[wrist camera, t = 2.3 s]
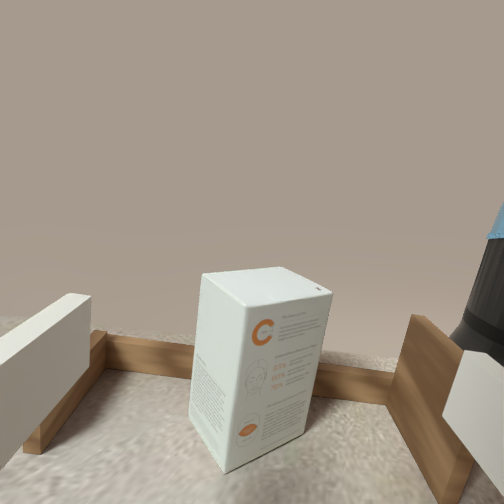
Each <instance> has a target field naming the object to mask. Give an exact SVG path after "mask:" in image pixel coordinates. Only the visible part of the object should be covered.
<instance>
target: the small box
mask: <svg viewBox="0 0 504 504" xmlns="http://www.w3.org/2000/svg"><path fill="white" fill-rule="evenodd" d="M332 297H333V292H331V291H329V290H328V289H326V288H324V287H322V286H320V285H318V284H316V283H314V282H312V281H310V280H308V279H306V278H304V277H302V276H300V275H298V274H296V273H294V272H291V271H289V270H287V269H285V268H283V267H272V268H261V269H250V270H240V271H227V272H216V273H203V274H202V278H201V288H200V299H199V308H198V319H197V328H196V339H195V349H194V359H193V368H192V379H191V390H190V400H189V410H188V417H189V419H190V421H191V422H192V424H193V425H194V427H195V429H196V430H197V432H198V433H199V435H200V437H201V438H202V440H203V441H204V443H205V445H206V446H207V448H208V449H209V451H210V453H211V454H212V456H213V458H214V459H215V461H216V462H217V464H218V465H219V467H220V468H221V470H222V472H223V473H224V474H226V473H228V472H230V471H231V470H233V469H235V468H237V467H239V466H241V465H243V464H245V463H247V462H249V461H251V460H253V459H255V458H257V457H259V456H261V455H263V454H265V453H267V452H269V451H271V450H273V449H275V448H276V447H278V446H280V445H282V444H284V443H286V442H288V441H290V440H292V439H294V438H296V437H298V436H300V435H302V434H303V433H304V429H305V424H306V419H307V415H308V410H309V405H310V400H311V396H312V391H313V386H314V381H315V377H316V372H317V367H318V363H319V358H320V353H321V349H322V344H323V339H324V335H325V329H326V325H327V320H328V316H329V311H330V306H331V301H332Z"/></svg>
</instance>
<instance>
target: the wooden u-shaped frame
mask: <svg viewBox="0 0 504 504" xmlns="http://www.w3.org/2000/svg"><path fill="white" fill-rule="evenodd" d="M194 349H195V346H192V345H185V344H178V343H170V342H163V341H155V340H148V339H141V338H133V337H126V336H118V335H111V334H107V331H99V330H94V331H93V332H92V333H91V334H90V358H89V367H88V369H87V370H86V371H85V372H84V373H83V374H82V376H81V377H80V378H79V379H78V380H77V381H76V383H75V384H74V385H73V386H72V387H71V388H70V390H69V391H68V392H67V393H66V394H65V395H64V397H63V398H62V399H61V400H60V401H59V402H58V404H57V405H56V406H55V407H54V408H53V409H52V411H51V412H50V413H49V414H48V415H47V417H46V418H45V419H44V420H43V421H42V422H41V424H40V425H39V426H38V427H37V428H36V429H35V431H34V432H33V433H32V434H31V435H30V436H29V438H28V439H27V440H26V441H25V442H24V443H23V452H24V453H32V454H40V455H41V454H42V452H43V451H44V450H45V448H46V447H47V446H48V444H49V443H50V442H51V440H52V439H53V438H54V436H55V435H56V434H57V432H58V431H59V430H60V428H61V427H62V426H63V424H64V423H65V422H66V420H67V419H68V418H69V417H70V415H71V414H72V413H73V411H74V410H75V409H76V407H77V406H78V405H79V403H80V402H81V401H82V399H83V398H84V397H85V395H86V394H87V393H88V391H89V390H90V389H91V387H92V386H93V385H94V383H95V382H96V381H97V380H98V378H99V377H100V376H101V374H102V373H103V372H104V370H105V369H106V368H110V369H118V370H125V371H133V372H140V373H148V374H155V375H163V376H170V377H178V378H185V379H192V368H193V359H194ZM463 353H464V351H463V350H462V349H461V348H460V347H459V346H458V345H456V344H455V343H454V342H453V341H452V340H451V339H450V338H449V337H447V336H446V335H445V334H444V333H443V332H442V331H441V330H439V329H438V328H437V327H436V326H435V325H434V324H433V323H432V322H431V321H429V320H428V319H427V318H426V317H425V316H420V315H413V314H412V315H411V318H410V322H409V325H408V329H407V332H406V336H405V339H404V343H403V346H402V349H401V353H400V356H399V360H398V363H397V367H396V370H395V373H392V372H385V371H378V370H370V369H363V368H355V367H348V366H341V365H333V364H326V363H318V367H317V372H316V377H315V381H314V386H313V391H312V395H313V396H321V397H328V398H336V399H343V400H351V401H358V402H366V403H373V404H381V405H386V407H387V409H388V411H389V413H390V415H391V416H392V418H393V420H394V422H395V424H396V426H397V428H398V429H399V431H400V433H401V435H402V437H403V439H404V441H405V442H406V444H407V446H408V448H409V450H410V452H411V454H412V455H413V457H414V459H415V461H416V463H417V465H418V467H419V468H420V470H421V472H422V474H423V476H424V478H425V480H426V481H427V483H428V485H429V487H430V489H431V491H432V493H433V494H434V496H435V498H436V500H437V502H438V504H458V501H459V499H460V496H461V494H462V491H463V489H464V486H465V483H466V481H467V478H468V476H469V473H470V471H471V468H472V466H473V463H474V460H475V459H474V457H473V456H472V455H471V453H470V452H469V451H468V449H467V448H466V447H465V445H464V444H463V443H462V441H461V440H460V439H459V437H458V436H457V435H456V434H455V432H454V431H453V430H452V428H451V427H450V426H449V424H448V423H447V422H446V420H445V419H444V418H443V416H442V414H443V411H444V408H445V405H446V402H447V400H448V397H449V394H450V391H451V388H452V385H453V382H454V379H455V376H456V374H457V371H458V368H459V365H460V362H461V359H462V356H463Z"/></svg>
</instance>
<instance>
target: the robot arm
mask: <svg viewBox="0 0 504 504" xmlns="http://www.w3.org/2000/svg"><path fill="white" fill-rule="evenodd" d="M487 239H489V240H488V243H487V246H486V249H485V253H484V255H483V259H482V262H481V265H480V268H479V271H478V273H477V277H476V279H475V282H474V285H473V288H472V291H471V294H470V297H469V299H468V303H467V305H466V309H465V311H464V314H463V317H462V320H461V322H460V324H459V326H458V327H457V328H456V329H455V331H454V332H453V333H452V334H451V335H450V337H449V338H450V339H451V340H452V341H453V342H454V343H455V344H456V345H458V346H459V347H460V348H461V349H462V350H463V351H464V353H463V356H462V359H461V362H460V365H459V368H458V371H457V374H456V376H455V379H454V382H453V385H452V388H451V391H450V394H449V397H448V400H447V402H446V405H445V408H444V411H443V414H442V416H443V418H444V419H445V420H446V422H447V423H448V424H449V426H450V427H451V428H452V430H453V431H454V432H455V434H456V435H457V436H458V437H459V439H460V440H461V441H462V443H463V444H464V445H465V447H466V448H467V449H468V451H469V452H470V453H471V455H472V456H473V457H474V459H475V460H476V461H477V462H478V464H479V465H480V466H481V468H482V469H483V470H484V472H485V473H486V474H487V476H488V477H489V478H490V480H491V481H492V482H493V484H494V485H495V486H496V487H497V489H498V490H499V491H500V493H501V494H502V495H503V497H504V203H503V204H502V206H501V208H500V210H499V213H498V215H497V218H496V220H495V223H494V225H493V227H492V230H491V232H490V233H488V235H487ZM90 328H91V296H87V295H81V294H73V293H68V294H67V295H65V296H64V297H62V298H60V299H59V300H57V301H56V302H54V303H53V304H51V305H50V306H48V307H47V308H45V309H44V310H42V311H41V312H39V313H37V314H36V315H34V316H33V317H31V318H30V319H28V320H27V321H25V322H24V323H22V324H20V325H19V326H17V327H16V328H14V329H13V330H11V331H10V332H8V333H7V334H5V335H4V336H2V337H1V338H0V470H1V469H2V468H3V467H4V466H5V464H6V463H7V462H8V461H9V460H10V459H11V457H12V456H13V455H14V454H15V453H16V452H17V450H18V449H19V448H20V447H21V446H22V445H23V443H24V442H25V441H26V440H27V439H28V438H29V436H30V435H31V434H32V433H33V432H34V431H35V429H36V428H37V427H38V426H39V425H40V424H41V422H42V421H43V420H44V419H45V418H46V417H47V415H48V414H49V413H50V412H51V411H52V409H53V408H54V407H55V406H56V405H57V404H58V402H59V401H60V400H61V399H62V398H63V397H64V395H65V394H66V393H67V392H68V391H69V390H70V388H71V387H72V386H73V385H74V384H75V383H76V381H77V380H78V379H79V378H80V377H81V376H82V374H83V373H84V372H85V371H86V370H87V369H88V367H89V358H90Z"/></svg>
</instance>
